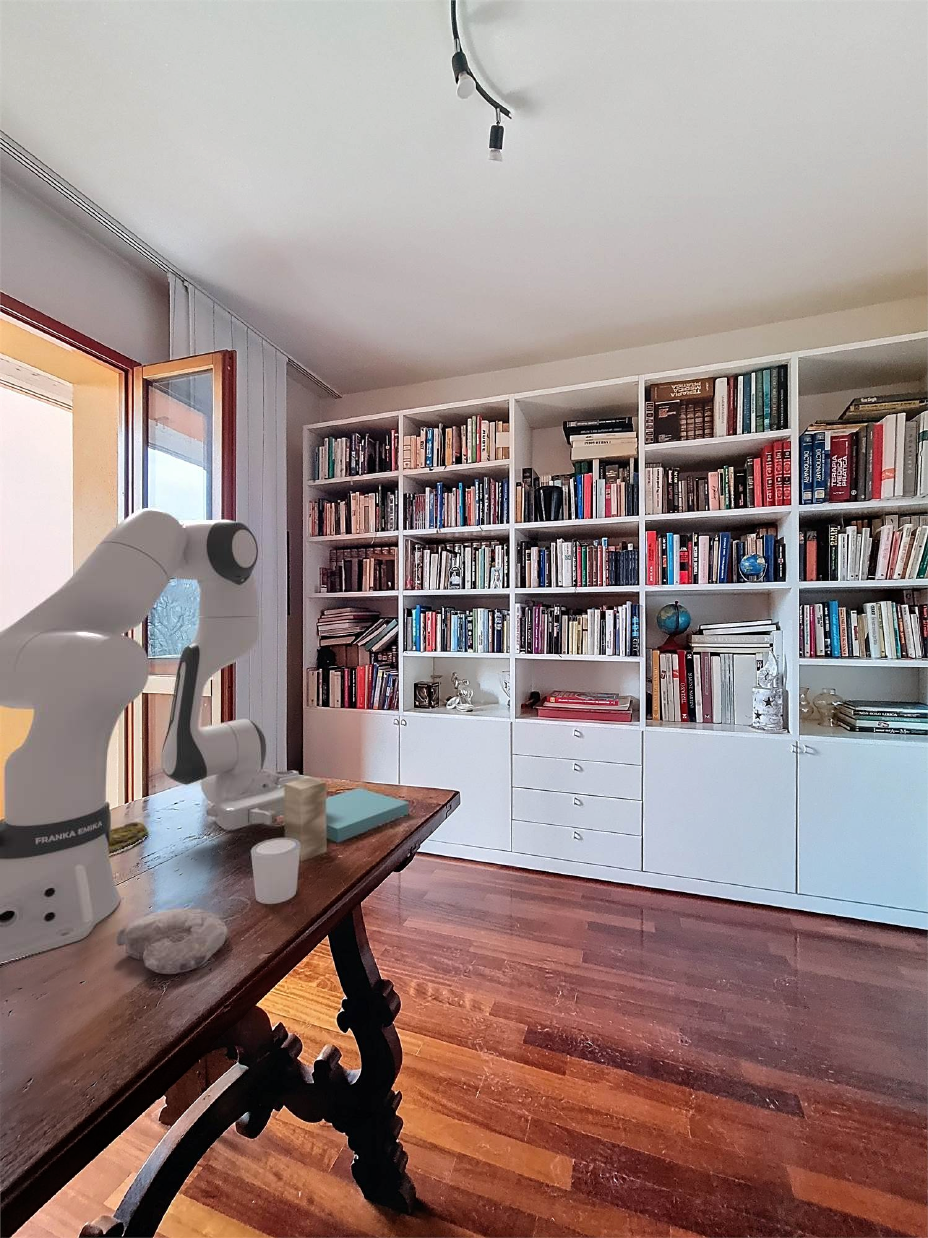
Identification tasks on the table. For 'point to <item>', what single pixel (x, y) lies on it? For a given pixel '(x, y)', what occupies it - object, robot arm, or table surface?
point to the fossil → (173, 939)
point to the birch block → (306, 815)
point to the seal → (126, 836)
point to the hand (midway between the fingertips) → (297, 811)
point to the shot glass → (275, 869)
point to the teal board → (360, 812)
